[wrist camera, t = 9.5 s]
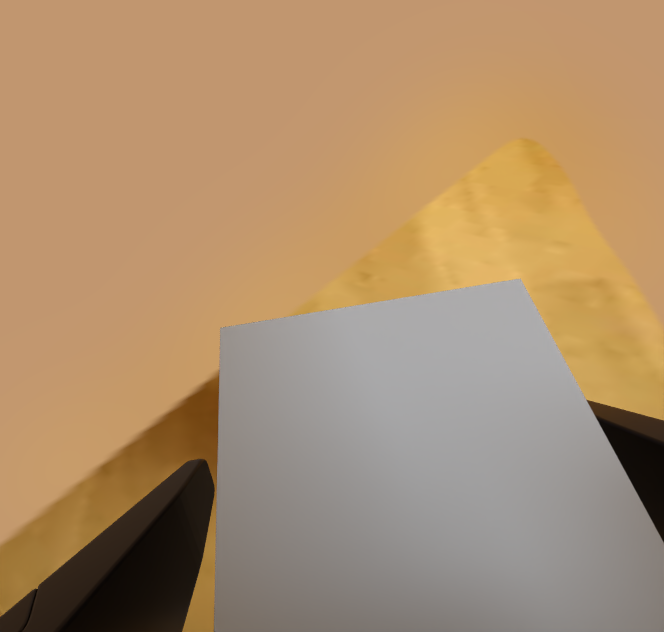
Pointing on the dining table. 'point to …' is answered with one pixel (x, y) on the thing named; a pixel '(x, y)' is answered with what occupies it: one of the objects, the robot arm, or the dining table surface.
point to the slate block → (422, 477)
